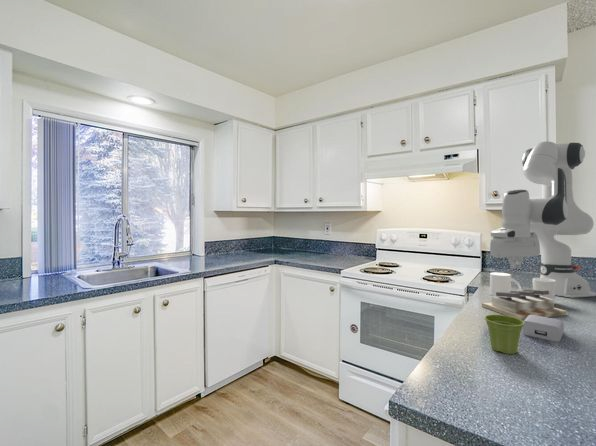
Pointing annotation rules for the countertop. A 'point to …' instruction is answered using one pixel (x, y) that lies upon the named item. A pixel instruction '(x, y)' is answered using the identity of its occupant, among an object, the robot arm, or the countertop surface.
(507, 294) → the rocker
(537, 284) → the white cup
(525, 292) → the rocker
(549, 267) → the robot arm
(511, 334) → the plant pot
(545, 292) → the rocker
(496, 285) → the mug
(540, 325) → the charger
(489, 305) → the switch panel
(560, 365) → the countertop surface
